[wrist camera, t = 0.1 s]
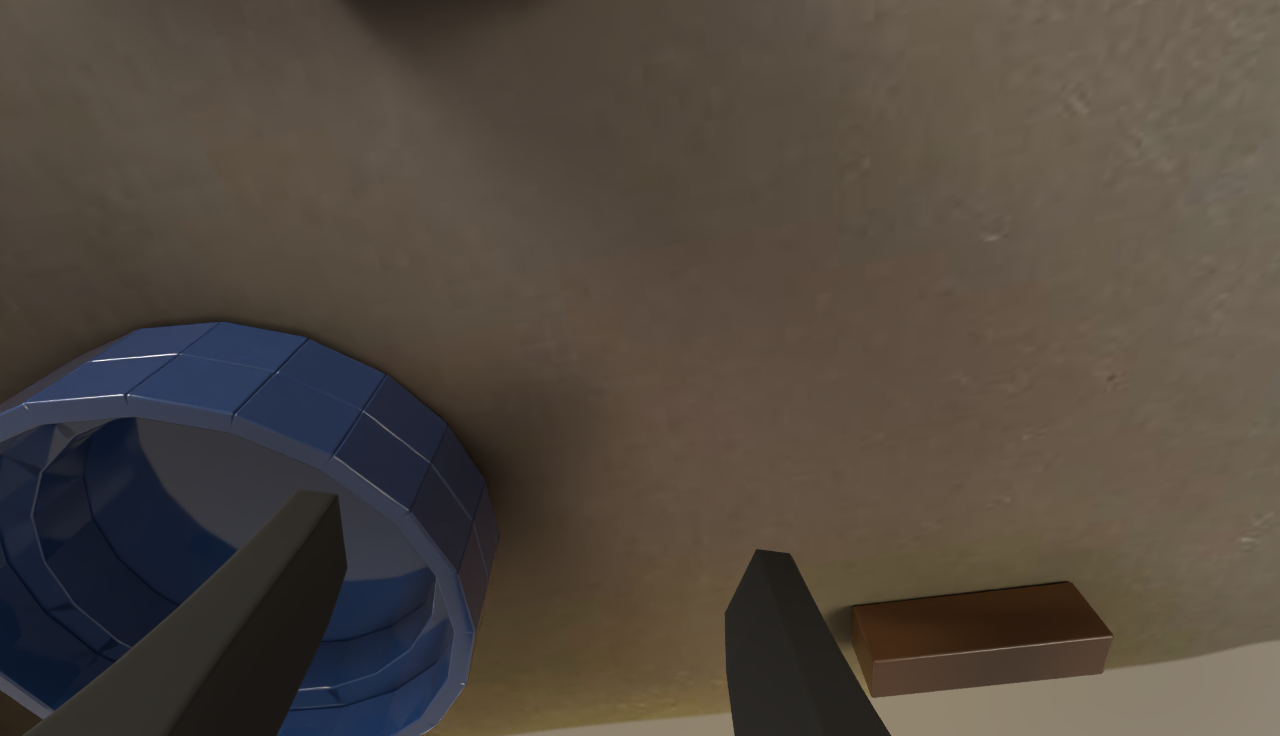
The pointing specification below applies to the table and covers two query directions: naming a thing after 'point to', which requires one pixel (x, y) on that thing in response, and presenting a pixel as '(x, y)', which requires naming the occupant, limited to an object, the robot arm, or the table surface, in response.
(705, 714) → the table surface
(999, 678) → the brown rectangular bar
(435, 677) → the bowl
